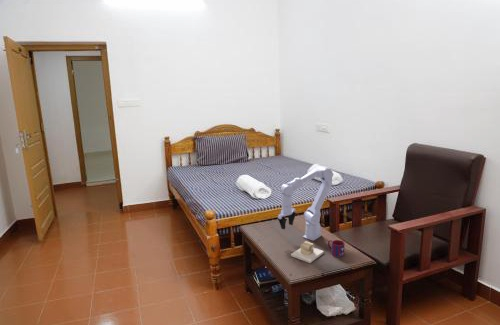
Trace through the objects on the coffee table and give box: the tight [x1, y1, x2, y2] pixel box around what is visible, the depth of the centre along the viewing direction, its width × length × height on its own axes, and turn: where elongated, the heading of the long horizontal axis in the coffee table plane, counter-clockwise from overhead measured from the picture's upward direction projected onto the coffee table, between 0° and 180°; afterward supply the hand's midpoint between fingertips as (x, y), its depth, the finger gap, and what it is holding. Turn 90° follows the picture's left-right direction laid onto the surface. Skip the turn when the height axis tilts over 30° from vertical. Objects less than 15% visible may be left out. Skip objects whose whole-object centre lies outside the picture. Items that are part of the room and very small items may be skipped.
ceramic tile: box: [290, 247, 325, 264], centre depth 184 cm, size 14×12×1 cm
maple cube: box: [300, 240, 315, 256], centre depth 184 cm, size 5×5×5 cm
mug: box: [327, 239, 346, 258], centre depth 184 cm, size 7×10×7 cm
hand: (287, 226), depth 198 cm, fingers open, 7 cm apart
